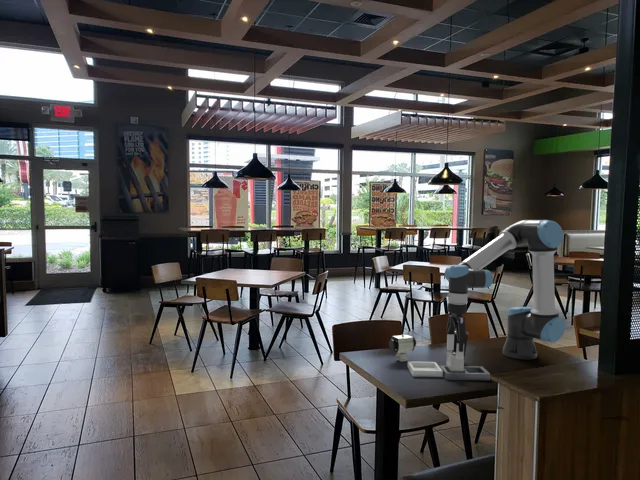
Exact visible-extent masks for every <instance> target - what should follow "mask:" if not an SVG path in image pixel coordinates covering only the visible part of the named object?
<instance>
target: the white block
mask: <svg viewBox="0 0 640 480" xmlns="http://www.w3.org/2000/svg"><path fill="white" fill-rule="evenodd" d="M445 366H446V370H447V371H448V372H458V373H464V366H465V360H464V358H463V360H457V359H456V352H452V351H446V363H445Z"/></svg>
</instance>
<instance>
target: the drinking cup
mask: <svg viewBox="0 0 640 480" xmlns="http://www.w3.org/2000/svg"><path fill="white" fill-rule="evenodd" d="M454 332H455V334H453V335H454V350H451V352H456V350H457V343H456V342H457V341H458V340H457V334H456V329H455V331H454ZM469 334H470V333H469V332H468V331H466V341H467V342H466V343H465V344H464V361H465V359H466V351H467V346H468V345H467V343H468V337H469Z"/></svg>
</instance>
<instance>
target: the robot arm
mask: <svg viewBox="0 0 640 480" xmlns="http://www.w3.org/2000/svg"><path fill="white" fill-rule="evenodd" d="M563 239H564V231H563V229H562V226H561V225H560V224H558V222H556V221H554V220H549V219H522V220H519V221H516V222H514V223H513V224H510V225H509V226H508V227H506V228H504V229H503V230H501V231H500V232H499V233H498V236H496V237H495V238H494V239H492V240H491V241H489V242H488V243H487V244H485V245H484V246H483V247H481V248H480V249H477V250H476V251H475V252H474V253H472V254H471V255H470V256H468V257H467V258H465V259H464V260H463V261H461V262H459V263H458V264H452V265H451V264H450V265H449V266H447V267H446V268H445V270H444V278H445V279H446V281H448V294H447V295H446V297H447V298H448V299H447V301H448V302H447V312H448V318H447V324H446V328H445V332H446V333H447V334H446V350H447V351H452V350H454V335H453V334H455V332H454V331H455V330H456V334H457V340H458V341H457V342H456V343H457V350H456V359H457V360H463V358H464V344H465V343H466V342H467V343H468V340H467V341H466V332H467V331H466V323H465V322H466V318H465V317H463V316H462V315H464V314H467V311H468V310H467V308H468V305H467V303H468V297H469V296H468V293H469V289H485V288H489V287H491V286H492V285H493V283H494V275H493V273H492V272H491V271H490V270H488V269H483V268H485V267H486V266H488V265H489V264H490V263H492V262H493V261H495V260H496V259H497V258H499V257H500V256H502V255H503V254H504V253H506V252H508V251H509V250H514V249H516V248H517V247H519V246H528V248H527V250H528V252H529V253H530V254H531V259H532V261H531V262H532V287H533V289H532V290H533V291H532V292H533V294H532V295H533V306H532V307H531V306H514V307H513V306H512V307H509V308H508V312H507V330H506V331H507V332H506V333H507V334H506V340H505V342H504V345H503V347H502V355H504V356H506V357H507V358H512V359H516V360H525V361H526V360H527V361H528V360H535V359H537V358H538V351H537V348H536V344H535V340H534V339H537V340H540V341H542V342H544V343H545V342H546V343H551V344H552V343H557V342H558V341H559V340H561V338H562V337H563V336H564V334H565V332H566V323H565V321H564V319H563V318H561V317H560V312H559V310H558V309H557V308H556V301H555V298H556V297H555V296H556V295H555V265H554V264H555V263H554V261H555V259H554V258H555V257H554V255H555V254H556V252H558V247H560V246H561V245H562V242H563Z"/></svg>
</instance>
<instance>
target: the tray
mask: <svg viewBox="0 0 640 480" xmlns="http://www.w3.org/2000/svg"><path fill="white" fill-rule="evenodd" d="M407 368H408V370H409V372H410V375H411V376H412V377H415V378H416V377H420V378H444V377H443V371H442V369H441V368H440V365H438V363H437V362H436V361H408V360H407Z"/></svg>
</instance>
